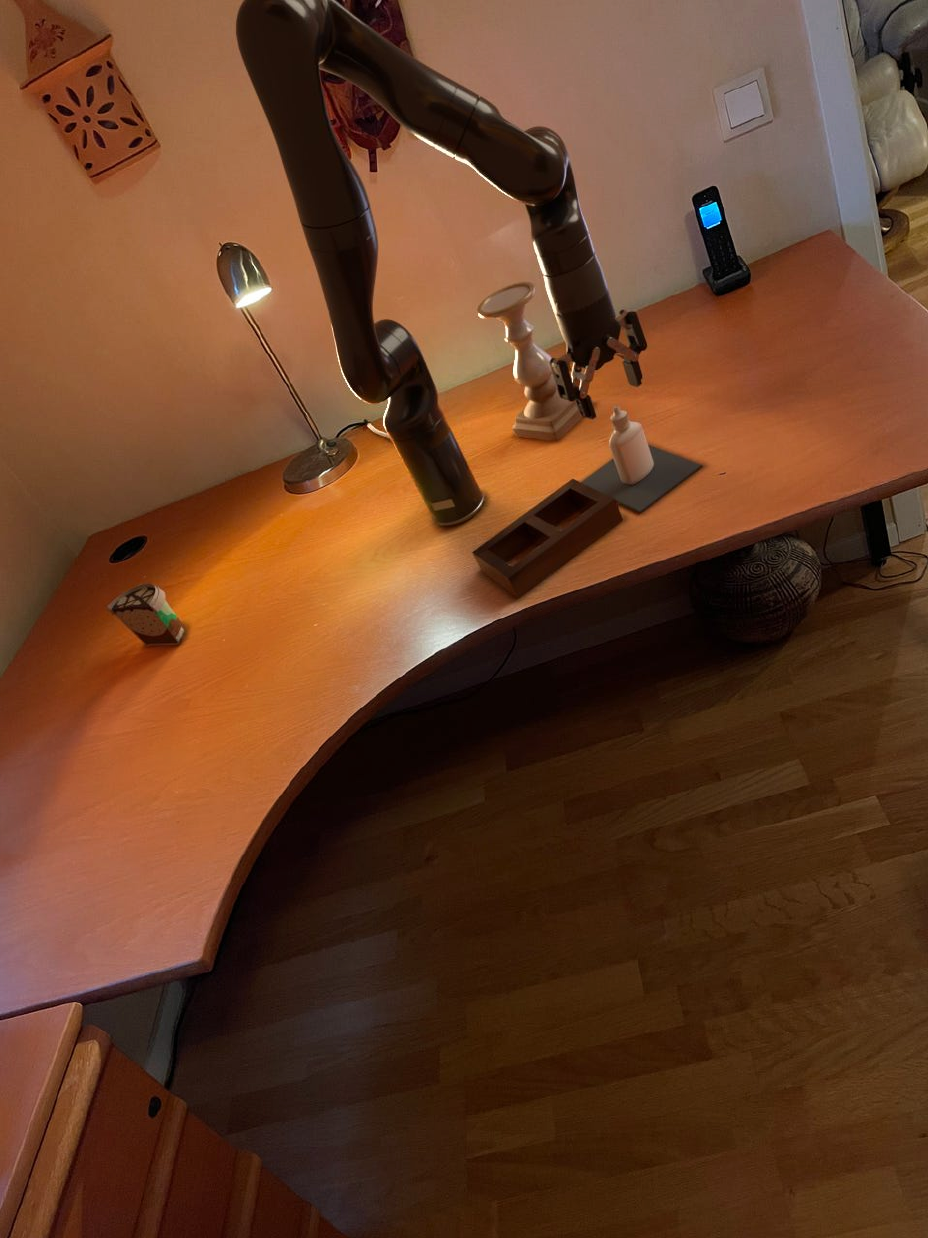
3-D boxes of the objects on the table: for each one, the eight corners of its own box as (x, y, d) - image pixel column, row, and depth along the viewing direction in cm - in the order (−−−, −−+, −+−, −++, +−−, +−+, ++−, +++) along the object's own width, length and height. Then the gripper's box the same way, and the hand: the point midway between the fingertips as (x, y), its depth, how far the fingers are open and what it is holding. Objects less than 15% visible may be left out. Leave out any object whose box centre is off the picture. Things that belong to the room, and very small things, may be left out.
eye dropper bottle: (660, 472, 124) (639, 403, 117) (626, 489, 124) (602, 421, 117) (650, 460, 127) (628, 392, 120) (616, 476, 128) (593, 409, 121)
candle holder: (550, 401, 156) (503, 281, 141) (595, 404, 148) (549, 277, 134) (514, 436, 152) (461, 316, 137) (558, 441, 144) (507, 314, 130)
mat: (580, 484, 131) (579, 482, 131) (637, 442, 133) (637, 440, 133) (640, 513, 119) (639, 511, 119) (702, 466, 121) (702, 464, 121)
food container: (204, 619, 150) (171, 578, 144) (186, 644, 146) (150, 603, 140) (160, 621, 156) (126, 583, 150) (140, 645, 152) (105, 607, 146)
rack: (482, 572, 125) (471, 552, 122) (580, 498, 128) (572, 478, 126) (518, 599, 117) (508, 578, 114) (623, 520, 120) (615, 498, 117)
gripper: (602, 264, 113) (634, 369, 123) (521, 320, 110) (560, 422, 120) (638, 269, 107) (668, 379, 117) (553, 327, 105) (591, 434, 114)
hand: (613, 401), depth 119 cm, fingers open, 8 cm apart
